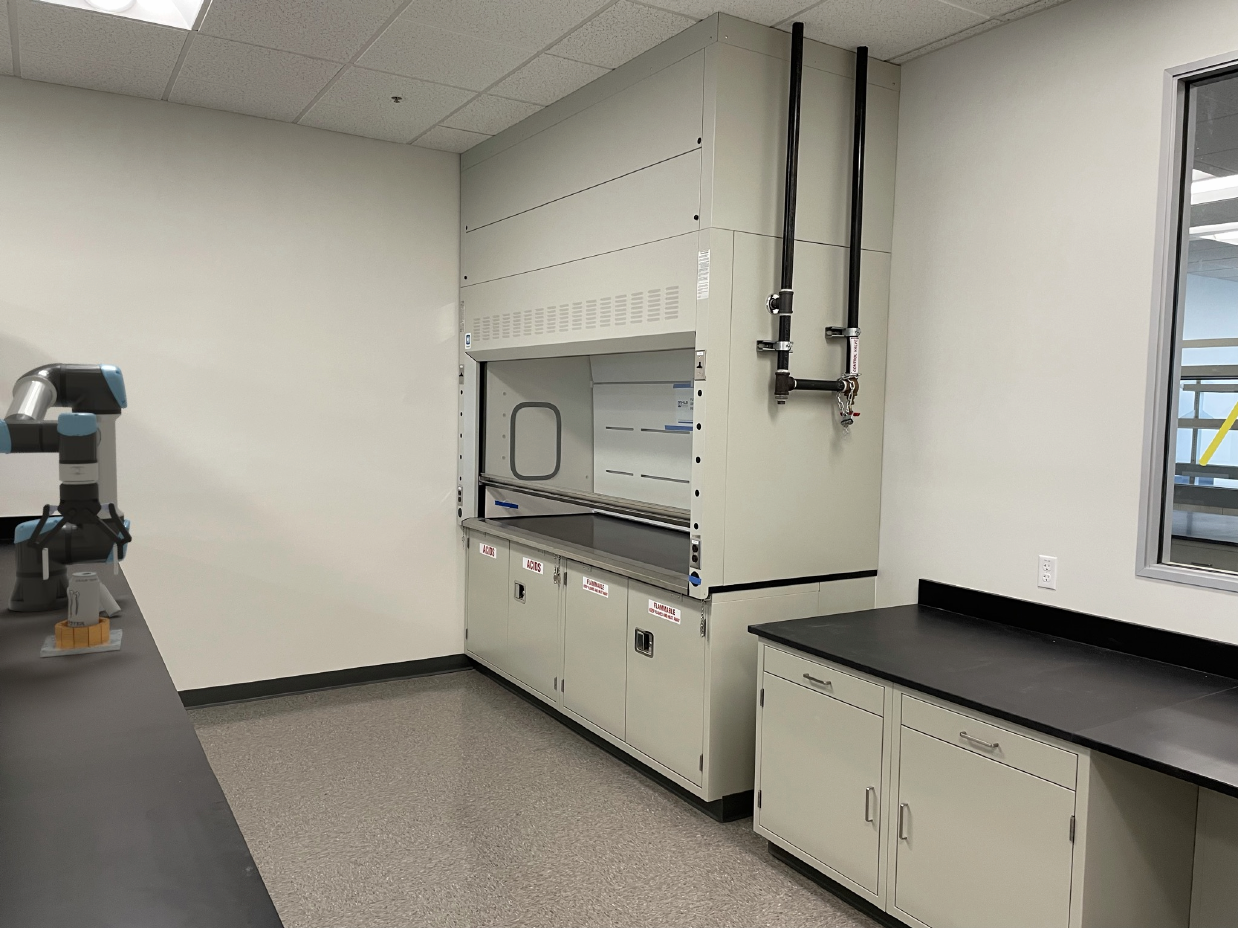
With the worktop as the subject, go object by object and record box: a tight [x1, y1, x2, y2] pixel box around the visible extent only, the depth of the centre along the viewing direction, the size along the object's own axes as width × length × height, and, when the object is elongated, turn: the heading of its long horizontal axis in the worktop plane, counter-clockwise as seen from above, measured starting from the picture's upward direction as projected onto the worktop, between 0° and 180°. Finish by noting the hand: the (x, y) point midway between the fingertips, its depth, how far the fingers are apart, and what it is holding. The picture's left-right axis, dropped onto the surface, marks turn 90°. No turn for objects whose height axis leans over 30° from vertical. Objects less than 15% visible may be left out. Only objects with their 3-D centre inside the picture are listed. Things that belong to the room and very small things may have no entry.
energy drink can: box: [67, 571, 101, 627], centre depth 204 cm, size 6×6×15 cm
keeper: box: [39, 616, 123, 658], centre depth 204 cm, size 15×15×5 cm
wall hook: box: [67, 580, 122, 618], centre depth 233 cm, size 8×10×10 cm
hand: (81, 576), depth 204 cm, fingers open, 13 cm apart
